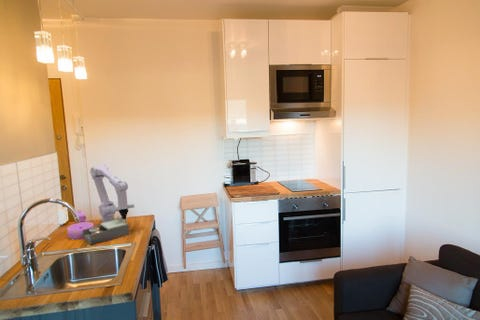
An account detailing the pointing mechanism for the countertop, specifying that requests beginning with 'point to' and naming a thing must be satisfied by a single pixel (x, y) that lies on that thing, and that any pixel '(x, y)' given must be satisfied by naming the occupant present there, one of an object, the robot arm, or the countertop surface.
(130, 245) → the countertop surface
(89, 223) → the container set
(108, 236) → the housing
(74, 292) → the countertop surface
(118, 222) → the lid
